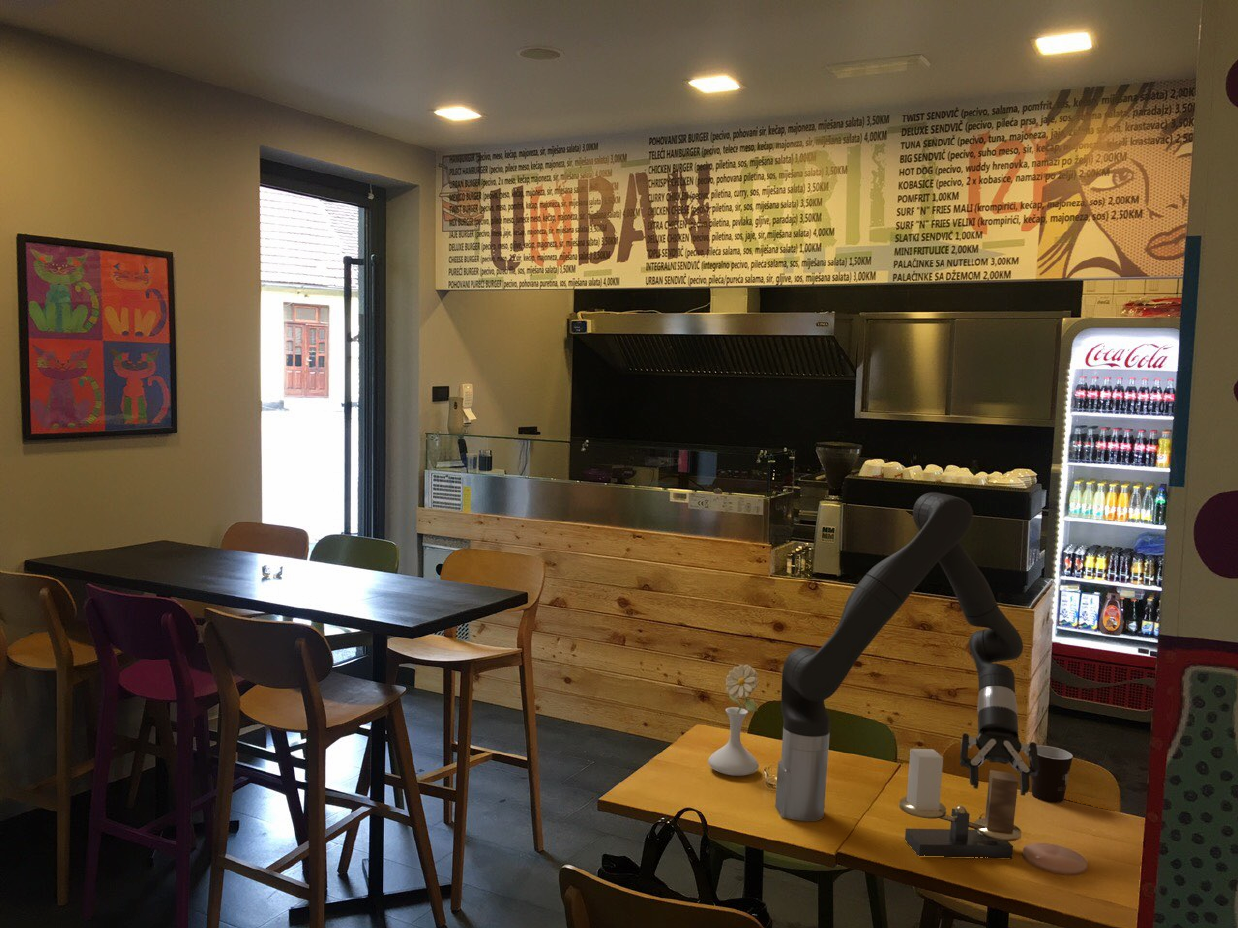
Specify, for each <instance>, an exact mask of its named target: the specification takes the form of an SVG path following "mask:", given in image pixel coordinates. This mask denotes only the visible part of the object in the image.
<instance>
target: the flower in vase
mask: <svg viewBox="0 0 1238 928" xmlns="http://www.w3.org/2000/svg"><path fill="white" fill-rule="evenodd" d="M728 672H729V673H728V674H727V675H726V679H725V682H726V683H725V686H726V687H725V692H726V693H727V695H728V696H729V699H730V700H732V702H734V703H736V704H737V705H738V706H739V707H733V706H731V707H727V708H725V712H726V714H727V716H728V718H729V725H730V727H729V729H730V732H729V733H730V734H729V739H728V741H727V743H726V744H724V745H723V746H721V748H719V749H717V750H715V751H714V752H713V753H712V754H711V755H710V756H709V758H708V760H707V763H708V765H709V767H710V768H711V769H712V770H714V771H716V772H718V773H721V774H724V775H727V776H737V777H738V776H747V775H751V774H755V773H756V772H757V770H759V768H760V766H759V762H758V760H757V758H756V757H755V756H754V755H753V754H752V753H751V752H750V751H748V750H747V749H746V748H745V747H744V746H743V744H742V742H741V730H742V724H743V721H744V719H745V717H746V716H747V715H748V713H749V712H758V711H759V709H758V707H757V705H756V703H755V700H754V699H748V697H749V696H751V695H752V692H755V689H756V687H757V686H758V685H759V682H758V680H759V678H758V676H759V674H758V672H757V671H756V670H755V669H754V668H753V667H752V666H750V665H749V664H745V665H743V664H739V666H734V667H733V669H732V670H729V671H728ZM741 698H743V699H744V701H743V703H742V704H741V703H740V702H739V700H740V699H741ZM744 706H745V708H743V707H744Z"/></svg>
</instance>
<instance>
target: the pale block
mask: <svg viewBox="0 0 1238 928" xmlns="http://www.w3.org/2000/svg"><path fill="white" fill-rule="evenodd" d="M909 751H910V752H909V753H910V754H909V766H908V776H907V777H908V778H907V779H908V780H907V791H906V793H907V794H906V797H907V801H908V802H909V803H910V804H911V805H912V806H913V807H914V808H915V810H939V806H940V803H941V789H942V777H943V767H944V763H943V762H944V757H943V756H942V755H941V754H940V753H939V752H937V751H936V750H935V749H931V748H910V750H909Z"/></svg>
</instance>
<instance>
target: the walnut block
mask: <svg viewBox="0 0 1238 928" xmlns="http://www.w3.org/2000/svg"><path fill="white" fill-rule="evenodd" d="M1018 788H1019V781H1018V778H1017V775H1016V774H1015V773H1012V772H1007V771H1005V772H1004V771H998V770H994V769H993V770H992V769H990V770H989V777H988V787H987V797H986V804H985V805H986V806H985V815H984V818H985V823H986V827H987V830H991V831H997V832H1003V833H1008V834H1013V826H1014V825H1015V816H1016V807H1017V797H1018Z"/></svg>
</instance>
